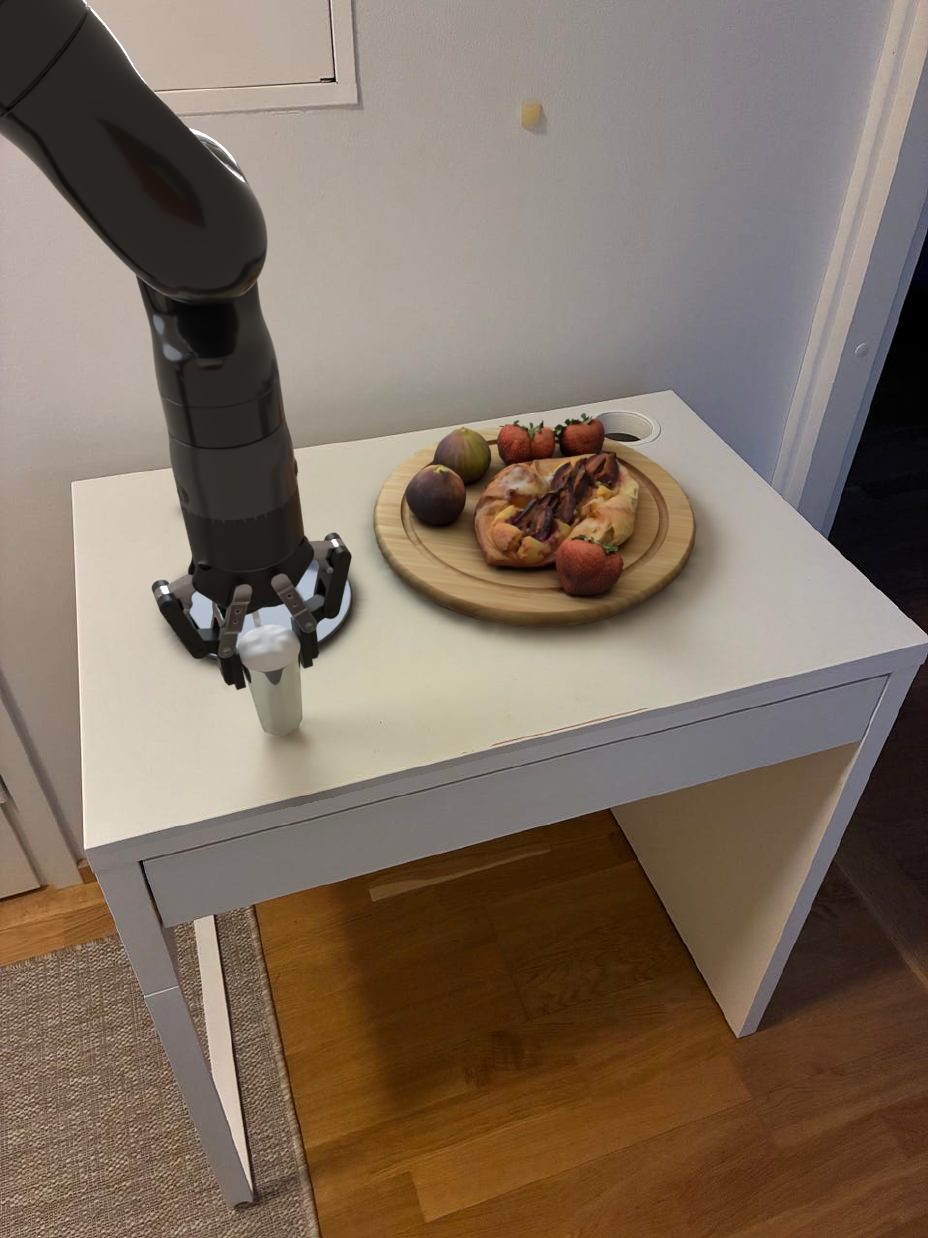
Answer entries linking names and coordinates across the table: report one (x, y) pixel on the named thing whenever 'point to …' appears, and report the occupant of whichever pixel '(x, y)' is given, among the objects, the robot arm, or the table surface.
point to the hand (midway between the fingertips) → (271, 670)
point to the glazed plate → (277, 610)
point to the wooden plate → (534, 524)
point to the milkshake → (273, 675)
